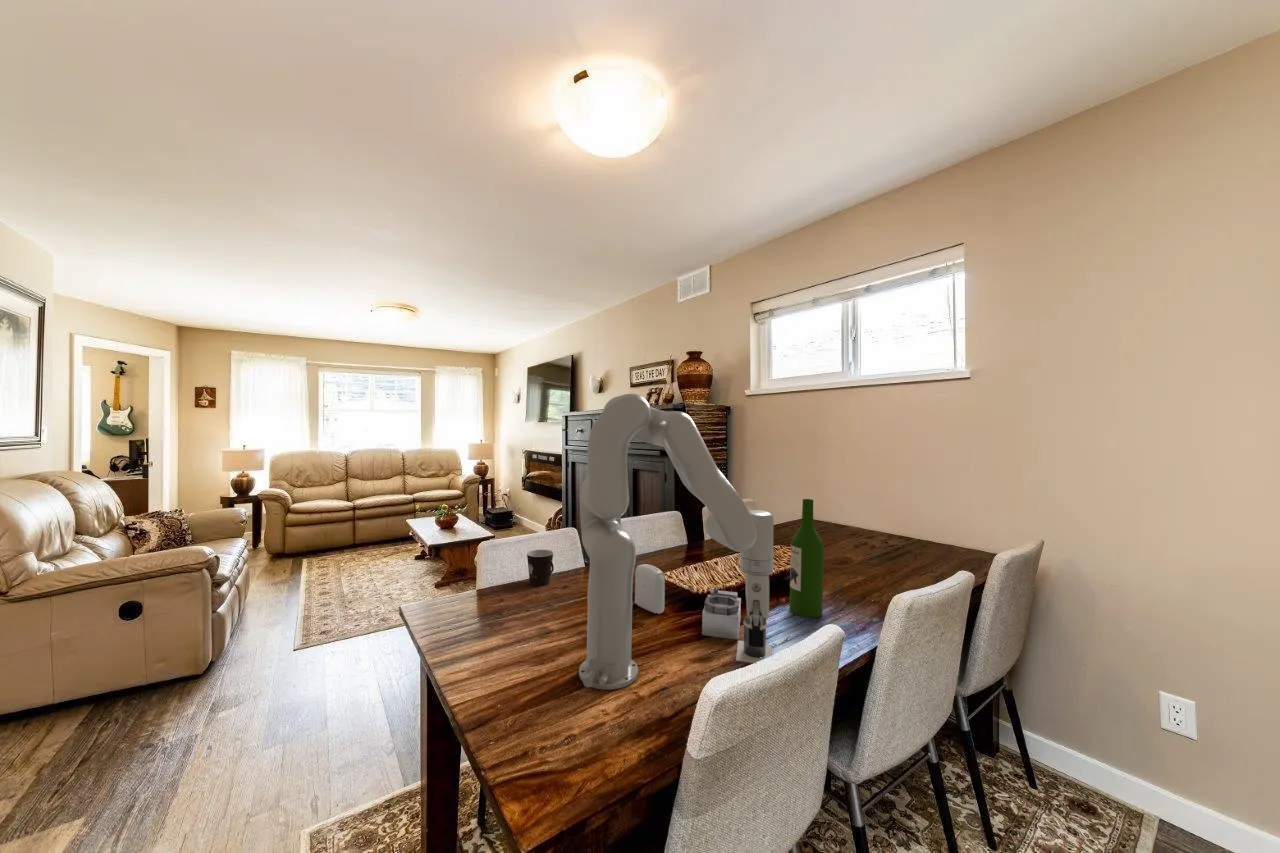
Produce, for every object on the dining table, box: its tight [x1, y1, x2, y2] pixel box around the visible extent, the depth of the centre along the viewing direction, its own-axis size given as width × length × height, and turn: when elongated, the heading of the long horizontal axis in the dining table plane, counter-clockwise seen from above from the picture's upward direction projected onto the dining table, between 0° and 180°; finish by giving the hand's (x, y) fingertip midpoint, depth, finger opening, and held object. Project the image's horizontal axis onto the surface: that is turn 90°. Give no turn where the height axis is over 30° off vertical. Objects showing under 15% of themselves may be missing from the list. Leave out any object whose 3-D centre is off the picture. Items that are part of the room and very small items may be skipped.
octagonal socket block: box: [701, 587, 742, 641], centre depth 122 cm, size 13×9×8 cm
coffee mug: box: [526, 549, 554, 587], centre depth 152 cm, size 12×9×10 cm
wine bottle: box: [789, 498, 825, 619], centre depth 134 cm, size 9×9×32 cm
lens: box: [743, 614, 768, 658], centre depth 108 cm, size 5×5×8 cm
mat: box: [735, 639, 773, 664], centre depth 108 cm, size 10×8×1 cm
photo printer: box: [634, 563, 666, 615], centre depth 134 cm, size 10×4×12 cm, turn 39°
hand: (756, 636), depth 108 cm, fingers open, 9 cm apart
